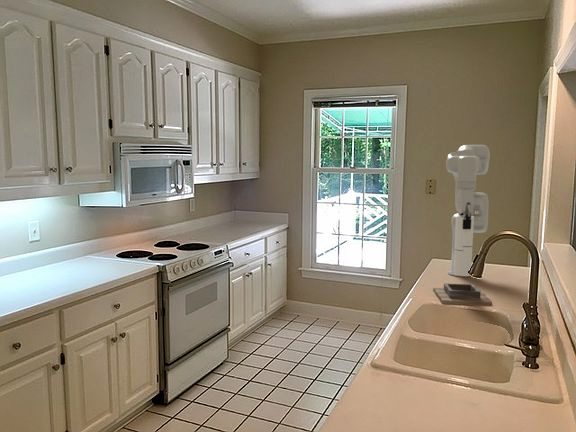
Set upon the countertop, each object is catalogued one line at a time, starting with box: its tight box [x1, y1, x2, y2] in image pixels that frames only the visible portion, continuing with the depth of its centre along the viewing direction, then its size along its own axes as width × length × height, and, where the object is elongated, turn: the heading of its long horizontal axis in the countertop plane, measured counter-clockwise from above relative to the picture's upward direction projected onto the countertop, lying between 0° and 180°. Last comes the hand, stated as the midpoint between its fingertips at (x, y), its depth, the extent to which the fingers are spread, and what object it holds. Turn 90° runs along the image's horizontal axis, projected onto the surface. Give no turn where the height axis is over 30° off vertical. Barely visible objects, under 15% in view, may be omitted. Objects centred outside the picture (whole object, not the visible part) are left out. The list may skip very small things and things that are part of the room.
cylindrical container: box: [454, 215, 474, 277], centre depth 211 cm, size 7×7×25 cm
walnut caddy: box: [432, 283, 493, 306], centre depth 214 cm, size 20×20×4 cm
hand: (464, 227), depth 211 cm, fingers closed on cylindrical container, 7 cm apart
